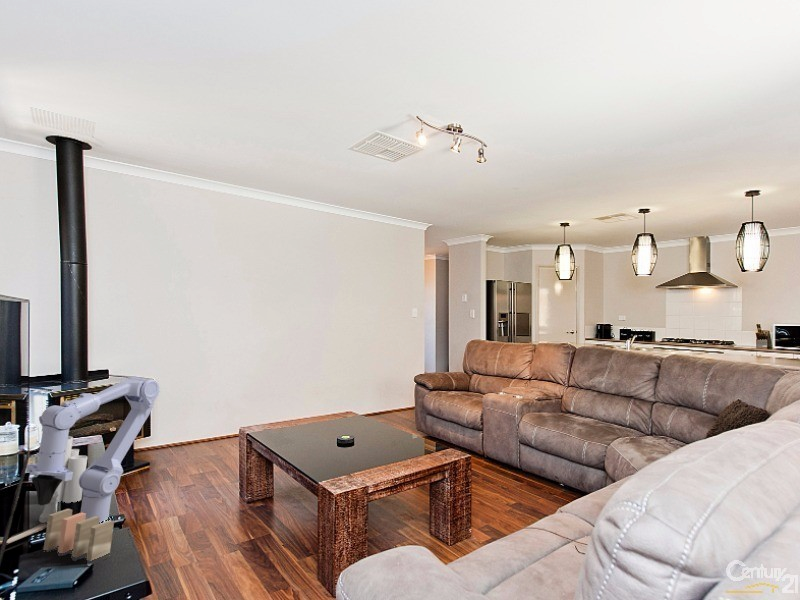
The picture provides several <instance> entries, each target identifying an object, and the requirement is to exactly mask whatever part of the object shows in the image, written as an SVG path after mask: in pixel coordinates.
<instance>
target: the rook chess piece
mask: <svg viewBox="0 0 800 600" xmlns="http://www.w3.org/2000/svg"><path fill="white" fill-rule="evenodd" d="M55 492H56V493H54V495H53V497H52V499H51V501H50V503H49V504H46V505H44V509H43V511H42V512H41V514H39V519H38V521H39V523H42V524H46V523H45V522H48V517H49V515H50V514H53V513H56V512H58V511H57V510H56V509H57V508H56V506H57V503H56V501H57V500H56V498H57V497H58V496H59V495H58V492H57V491H55Z"/></svg>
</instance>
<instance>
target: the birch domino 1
mask: <svg viewBox="0 0 800 600" xmlns="http://www.w3.org/2000/svg"><path fill="white" fill-rule="evenodd" d="M70 516H73V509H71V508H65V509H63V510H60V511H56V513H53V514H50V515H49V517H48V523H46V524H47V525H46V532H45V538H44V545H43V550H49V549H52V548H55V547H57V546H59V540H60V533H61V526H62V520H63V519H64V518H67V517H70Z"/></svg>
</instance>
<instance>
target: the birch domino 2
mask: <svg viewBox="0 0 800 600" xmlns="http://www.w3.org/2000/svg"><path fill="white" fill-rule="evenodd" d="M99 520H100V517H96V516H95V517H92V518H89V519H86V520H84V521H81V522H78V523H76V530H75V537H74V544H73V551H72V553H71V557H72V556H73V557H76V558H77V557H79V556H81V555H83V554H85V553H87V552H88V545H89V538H90V531H91V527H93V526H96V525H98V524H99Z"/></svg>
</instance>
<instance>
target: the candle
mask: <svg viewBox="0 0 800 600" xmlns="http://www.w3.org/2000/svg"><path fill="white" fill-rule="evenodd" d="M73 441H74V437H73V436H71V435H70V436H69V435H68V440H67V447H66V453H65V459H64V465H63V467H65V468H66V469H67V470H69V471H71V472H73V476H72V480H68V481H62V482H61V483H60V484H59V486H58V487H57V489H56V491H57V492H58V495H59V496H58V497H57V498H56V500H57V501H56V504H58V503H57V502H59V503H64V502H65V504H70V503H71V502H73V503H76V502H77V501H78V502H80V501H82V499H83V493H82V488H81V487H80V486H79V478H80V476H81V474H82V473H83V472H84V471H85V470H86V469H87V465H88V464H87V463H88V456H87V455H79V454H80V453H79V452H80V449H79V448H73ZM55 493H56V492H55ZM61 501H62V502H61Z"/></svg>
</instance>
